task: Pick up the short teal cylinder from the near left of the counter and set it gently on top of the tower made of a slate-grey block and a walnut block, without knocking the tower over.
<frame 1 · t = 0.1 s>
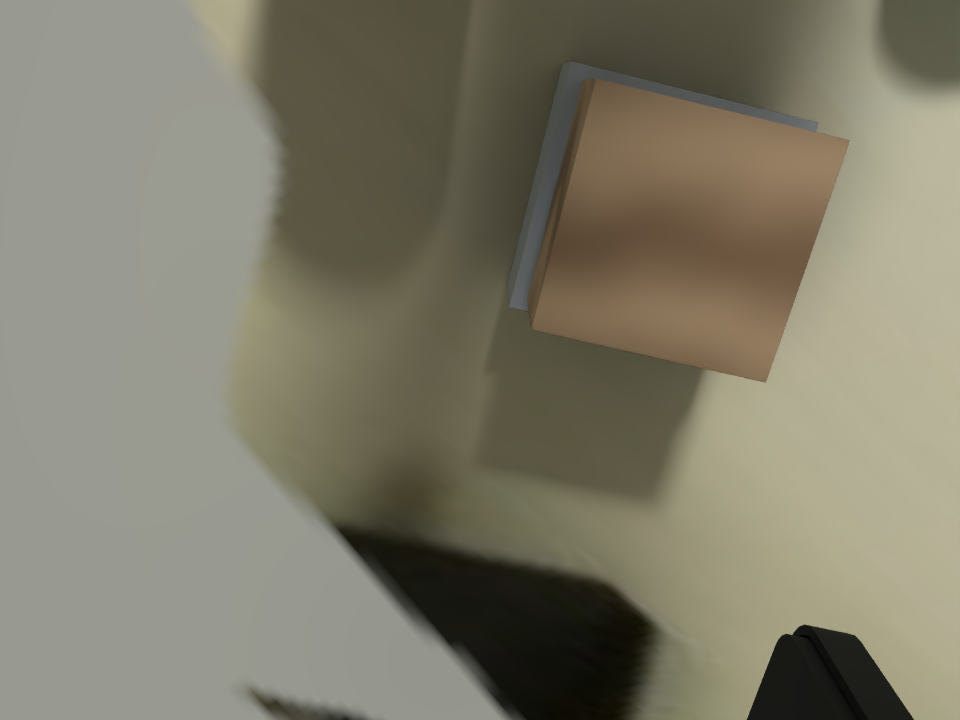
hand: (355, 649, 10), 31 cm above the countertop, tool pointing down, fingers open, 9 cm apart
walnut block: (661, 220, 35), point 4 cm above the countertop, touching slate base block
slate base block: (640, 204, 39), on the countertop, touching walnut block
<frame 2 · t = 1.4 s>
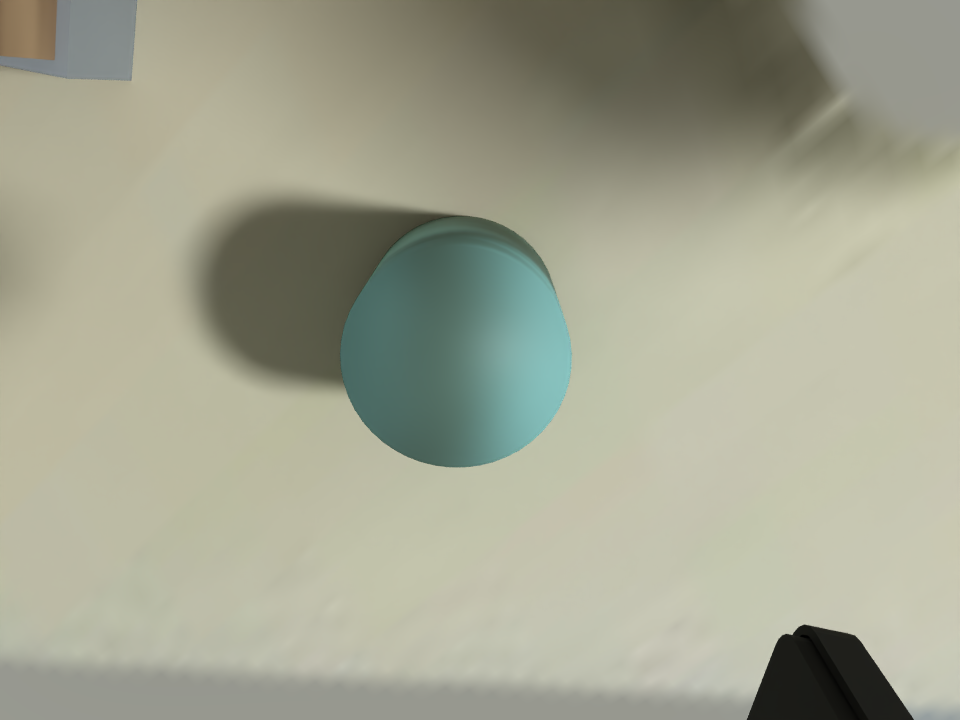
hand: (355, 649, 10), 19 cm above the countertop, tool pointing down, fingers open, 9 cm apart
teal cylinder: (462, 310, 28), on the countertop
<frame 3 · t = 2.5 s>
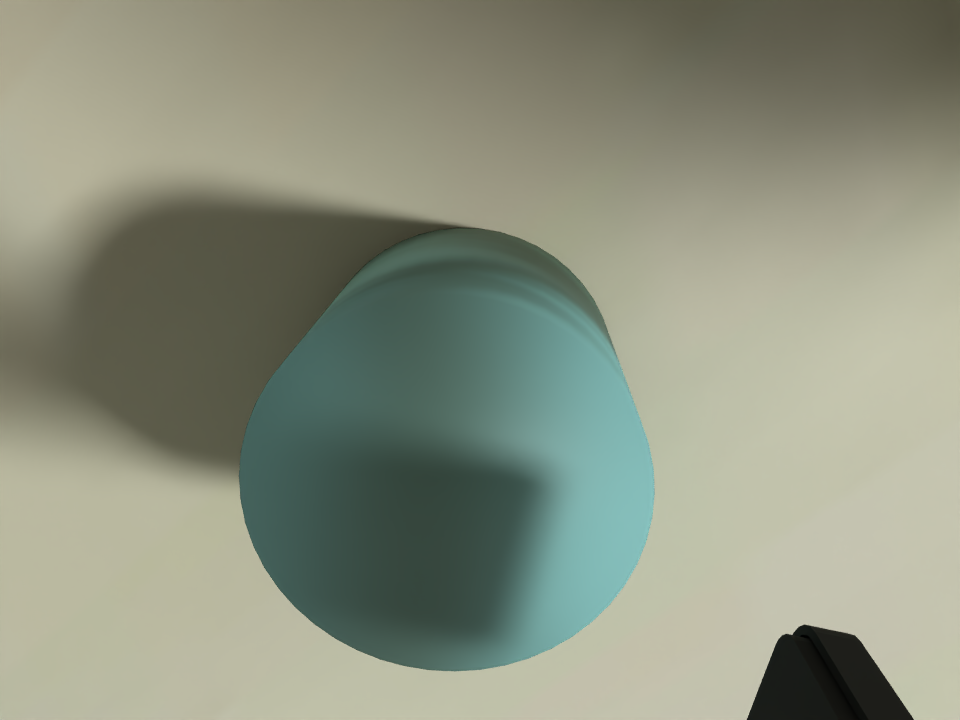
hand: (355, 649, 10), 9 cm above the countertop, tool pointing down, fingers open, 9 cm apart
teal cylinder: (465, 373, 18), on the countertop
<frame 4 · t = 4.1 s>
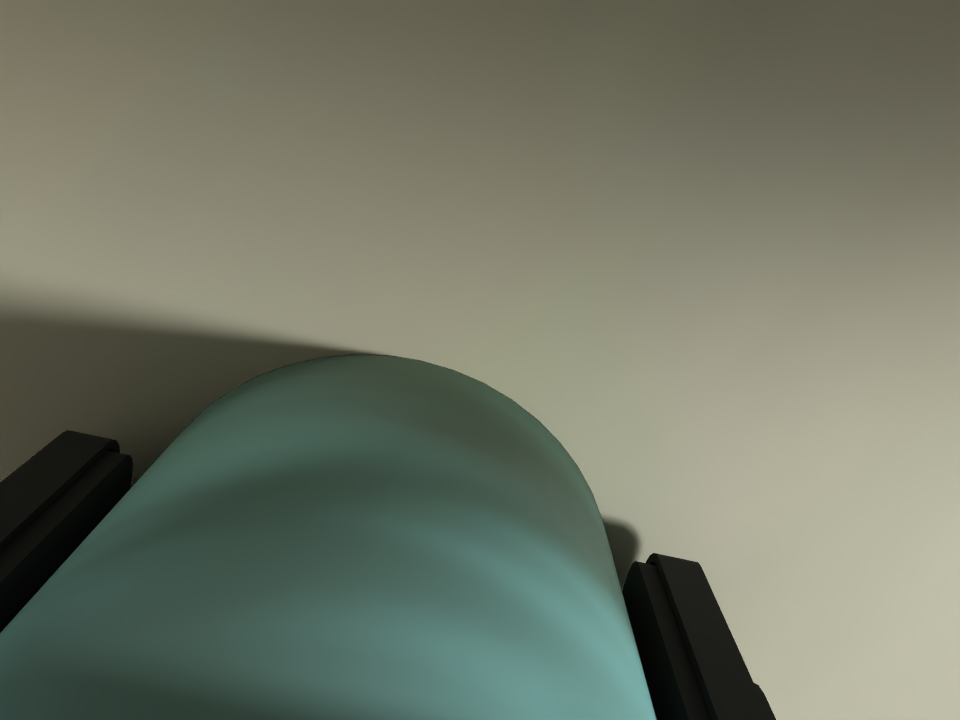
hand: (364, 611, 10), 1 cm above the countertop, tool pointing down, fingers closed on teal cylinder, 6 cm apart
teal cylinder: (372, 581, 11), on the countertop, touching gripper
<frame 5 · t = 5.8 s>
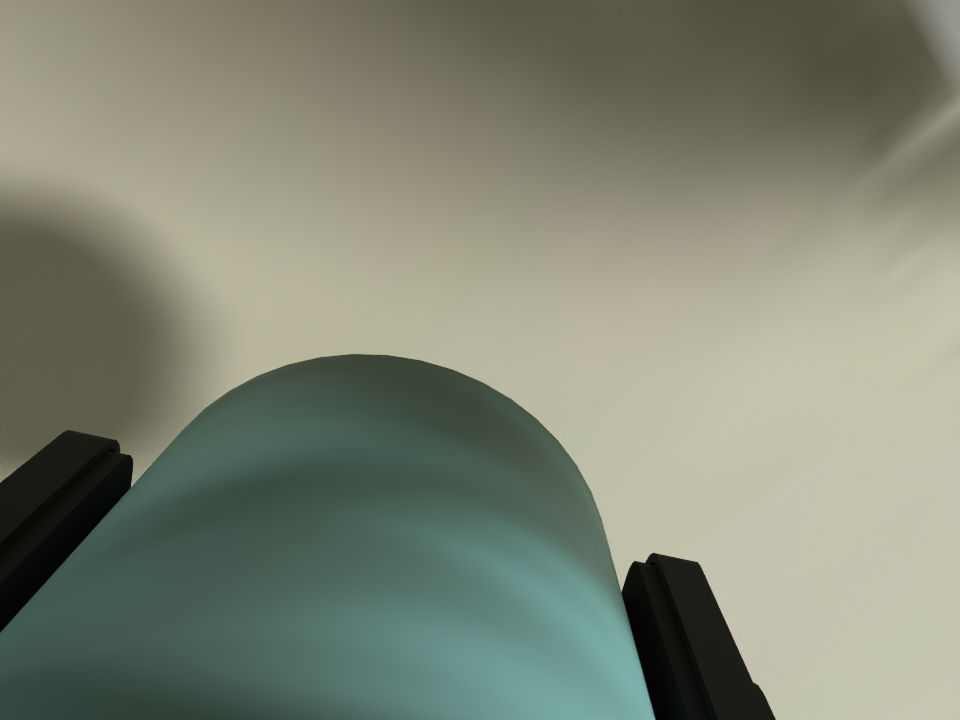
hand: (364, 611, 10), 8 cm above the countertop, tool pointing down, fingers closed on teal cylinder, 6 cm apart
teal cylinder: (372, 580, 11), point 7 cm above the countertop, touching gripper
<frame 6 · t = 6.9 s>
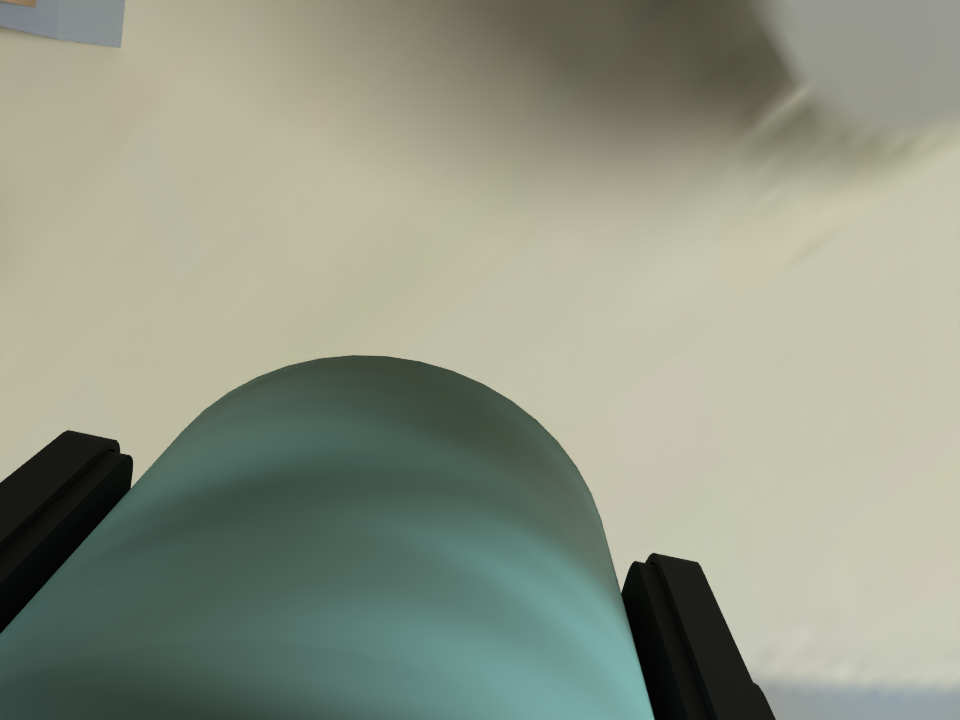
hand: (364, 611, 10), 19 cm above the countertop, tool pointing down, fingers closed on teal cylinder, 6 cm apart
teal cylinder: (371, 581, 11), point 18 cm above the countertop, touching gripper
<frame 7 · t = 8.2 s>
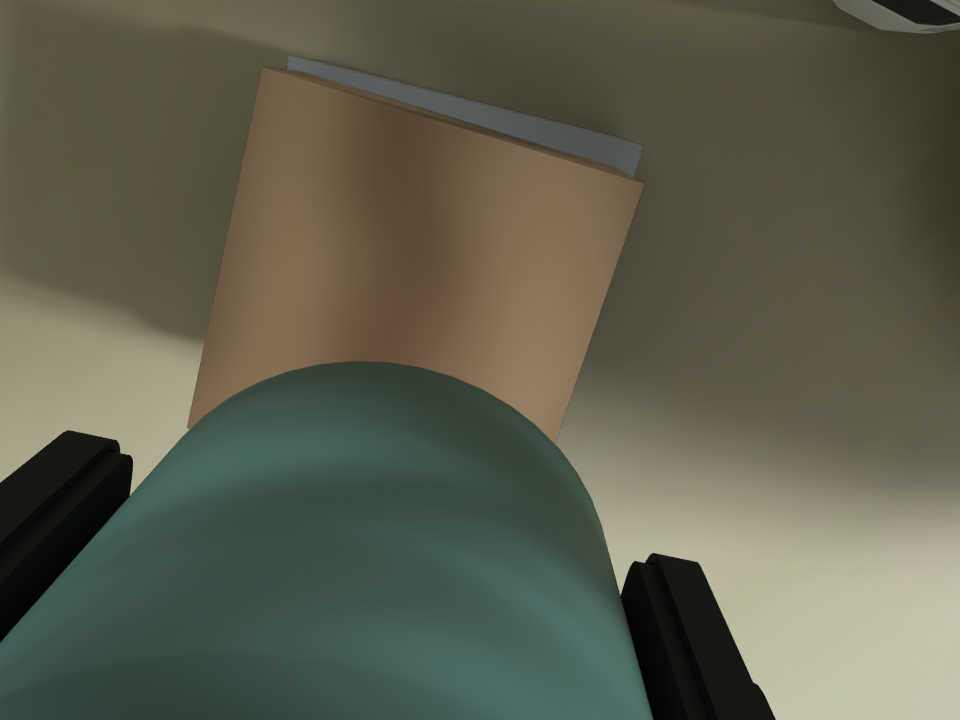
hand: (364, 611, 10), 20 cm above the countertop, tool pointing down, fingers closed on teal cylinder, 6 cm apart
walnut block: (420, 274, 25), point 4 cm above the countertop, touching slate base block
teal cylinder: (371, 587, 11), point 19 cm above the countertop, touching gripper
slate base block: (437, 248, 29), on the countertop, touching walnut block
when the fingers open (11 cm above the countertop, at t = 11.2 s): teal cylinder drops 2 cm, resting on walnut block.
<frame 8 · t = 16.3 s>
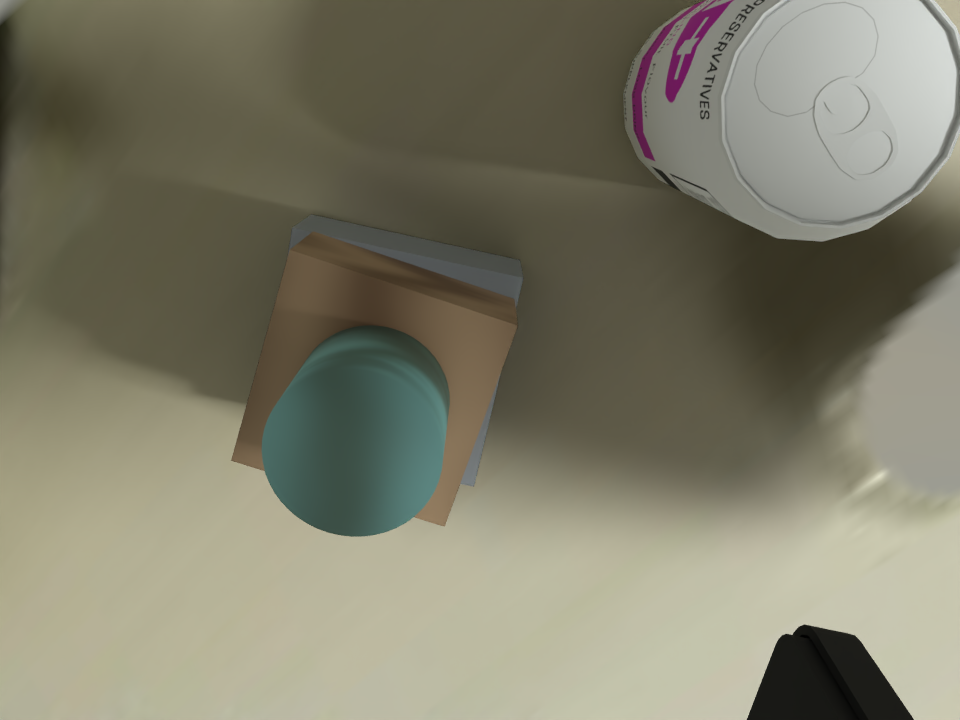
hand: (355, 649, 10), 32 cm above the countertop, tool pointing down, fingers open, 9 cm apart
supplement can: (711, 100, 39), on the countertop
walnut block: (384, 360, 38), point 4 cm above the countertop, touching slate base block, teal cylinder
teal cylinder: (373, 399, 34), point 9 cm above the countertop, touching walnut block
slate base block: (397, 335, 42), on the countertop, touching walnut block
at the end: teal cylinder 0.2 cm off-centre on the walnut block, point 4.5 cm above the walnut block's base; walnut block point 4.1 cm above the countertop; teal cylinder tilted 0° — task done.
